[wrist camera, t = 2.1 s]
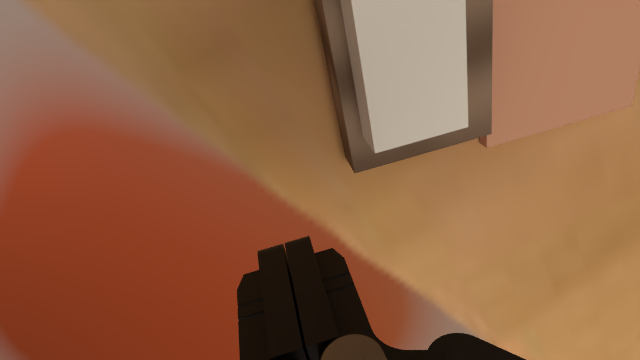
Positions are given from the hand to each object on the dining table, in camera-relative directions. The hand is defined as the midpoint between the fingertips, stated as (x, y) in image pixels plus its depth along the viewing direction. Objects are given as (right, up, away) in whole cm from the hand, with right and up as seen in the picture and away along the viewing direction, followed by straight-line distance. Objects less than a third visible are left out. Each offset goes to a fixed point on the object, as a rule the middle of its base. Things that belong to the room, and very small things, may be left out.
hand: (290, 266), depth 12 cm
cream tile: (+6, +10, +13) cm, 18 cm away
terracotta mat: (+17, +14, +16) cm, 28 cm away
